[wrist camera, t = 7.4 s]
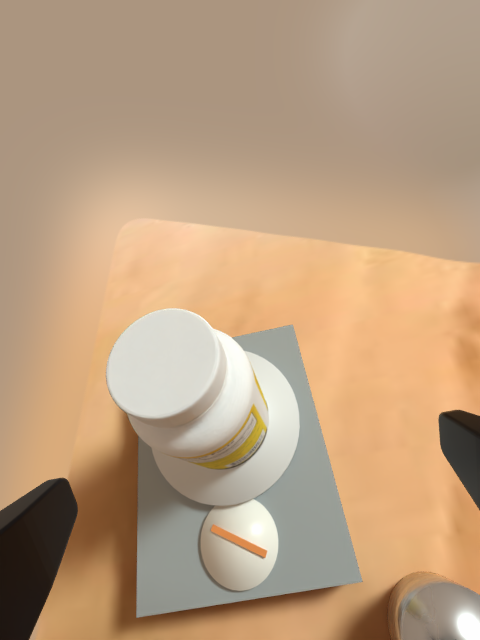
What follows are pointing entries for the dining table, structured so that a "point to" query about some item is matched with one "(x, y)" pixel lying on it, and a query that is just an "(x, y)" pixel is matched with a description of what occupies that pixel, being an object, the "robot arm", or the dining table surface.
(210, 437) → the supplement bottle
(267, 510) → the scale
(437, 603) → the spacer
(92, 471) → the dining table surface
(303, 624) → the dining table surface
